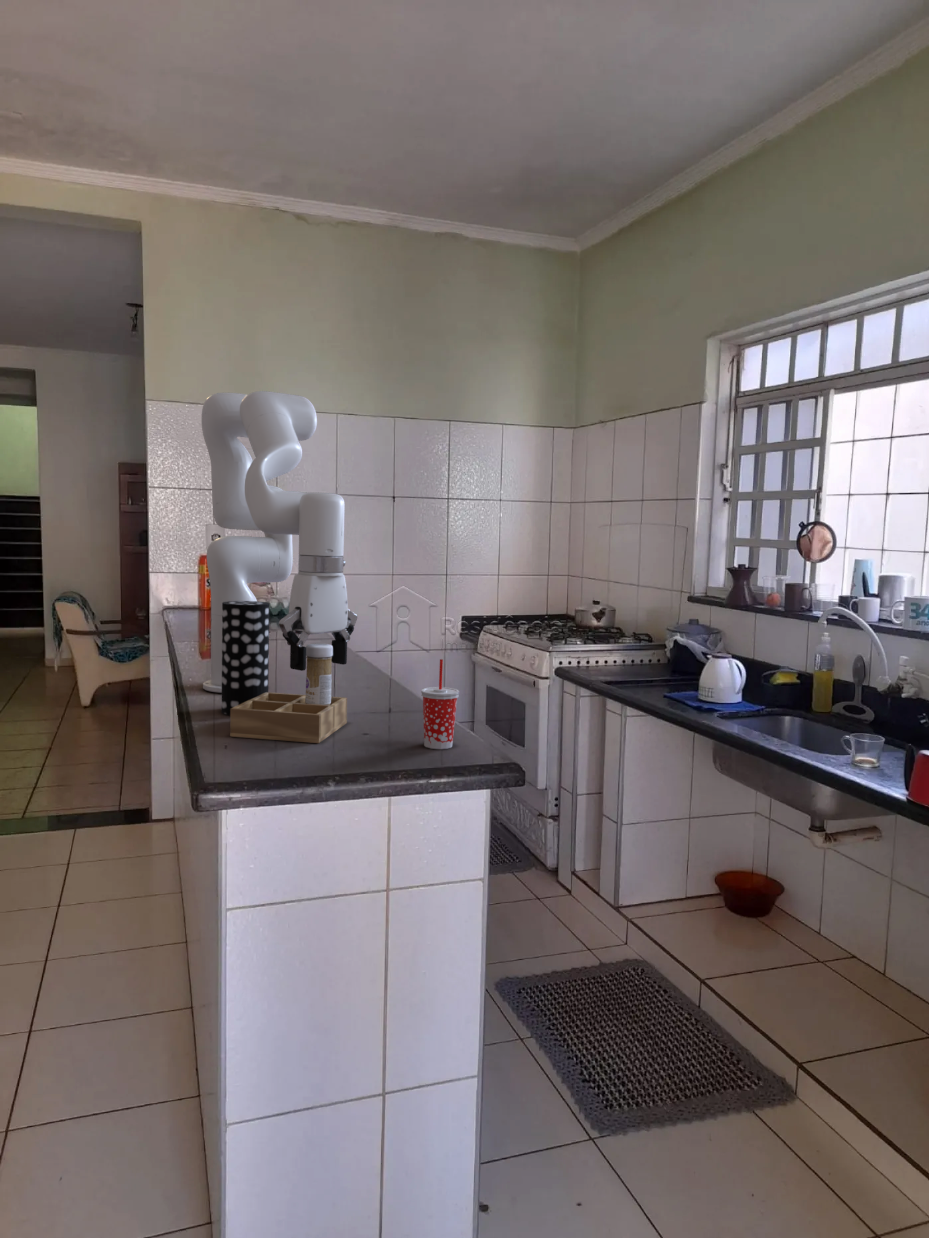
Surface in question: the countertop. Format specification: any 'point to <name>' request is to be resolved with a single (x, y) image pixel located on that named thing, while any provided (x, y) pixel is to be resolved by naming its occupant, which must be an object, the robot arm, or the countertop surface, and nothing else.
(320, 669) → the sprinkles bottle
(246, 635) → the spotted tube
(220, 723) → the countertop surface
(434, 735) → the beverage cup
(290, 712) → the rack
